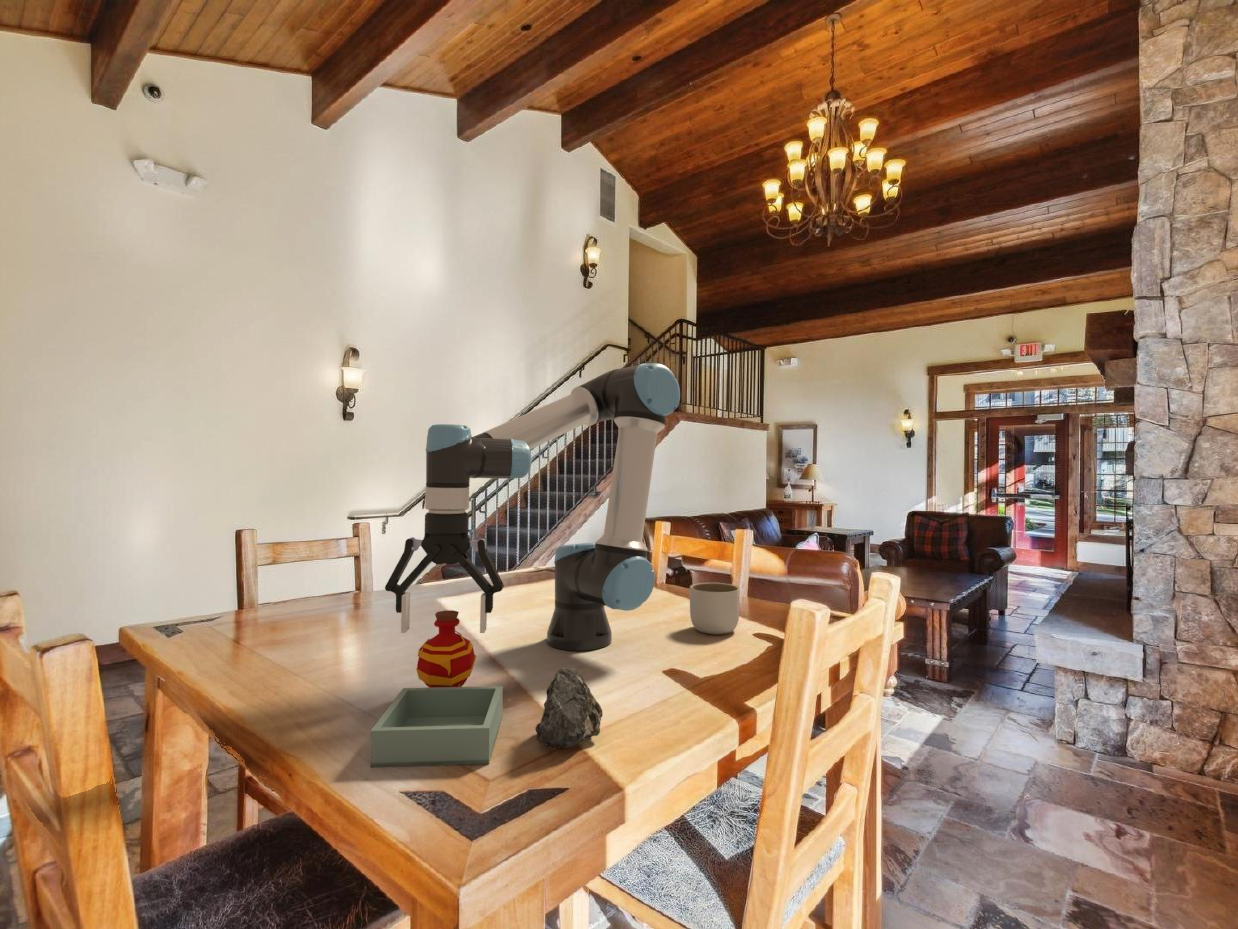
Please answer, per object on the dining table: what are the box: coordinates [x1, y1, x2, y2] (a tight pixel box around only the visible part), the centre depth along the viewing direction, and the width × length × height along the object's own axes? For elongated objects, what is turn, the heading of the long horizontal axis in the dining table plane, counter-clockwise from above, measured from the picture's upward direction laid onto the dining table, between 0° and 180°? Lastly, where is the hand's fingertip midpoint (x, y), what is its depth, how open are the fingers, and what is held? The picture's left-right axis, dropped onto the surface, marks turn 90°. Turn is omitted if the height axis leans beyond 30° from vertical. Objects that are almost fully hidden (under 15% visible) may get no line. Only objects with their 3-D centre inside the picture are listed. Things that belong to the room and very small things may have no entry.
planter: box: [689, 582, 741, 635], centre depth 154 cm, size 12×12×11 cm
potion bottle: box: [416, 609, 477, 688], centre depth 109 cm, size 10×10×15 cm
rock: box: [535, 666, 603, 750], centre depth 93 cm, size 12×10×10 cm
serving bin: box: [369, 685, 504, 768], centre depth 92 cm, size 16×16×5 cm
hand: (444, 631), depth 109 cm, fingers open, 13 cm apart
